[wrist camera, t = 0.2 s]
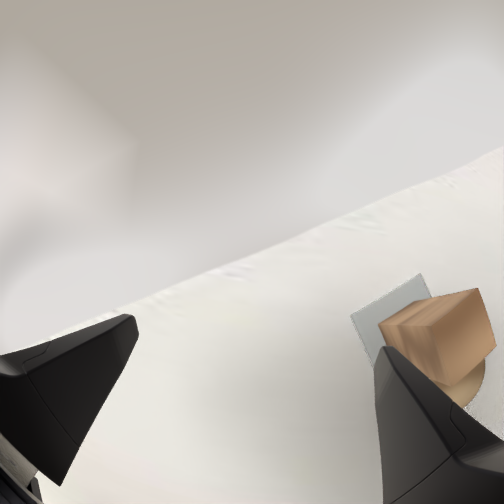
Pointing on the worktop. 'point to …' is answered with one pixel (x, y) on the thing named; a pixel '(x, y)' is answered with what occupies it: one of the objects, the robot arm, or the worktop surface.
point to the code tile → (385, 313)
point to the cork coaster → (465, 385)
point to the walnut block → (442, 334)
